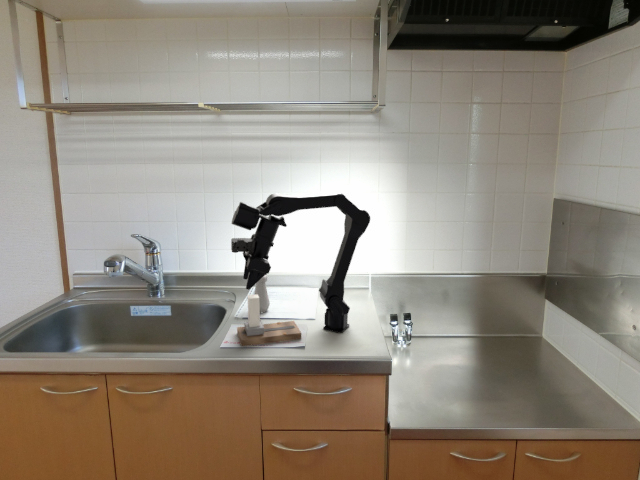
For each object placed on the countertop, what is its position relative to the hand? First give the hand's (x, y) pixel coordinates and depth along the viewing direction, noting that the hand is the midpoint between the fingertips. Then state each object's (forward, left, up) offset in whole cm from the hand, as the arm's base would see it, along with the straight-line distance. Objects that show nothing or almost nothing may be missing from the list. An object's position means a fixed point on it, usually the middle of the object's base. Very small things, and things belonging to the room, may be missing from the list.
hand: (246, 283), depth 131 cm
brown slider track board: (-6, -3, -17) cm, 18 cm away
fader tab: (-3, 0, -14) cm, 15 cm away
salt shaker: (+8, -19, -17) cm, 26 cm away
